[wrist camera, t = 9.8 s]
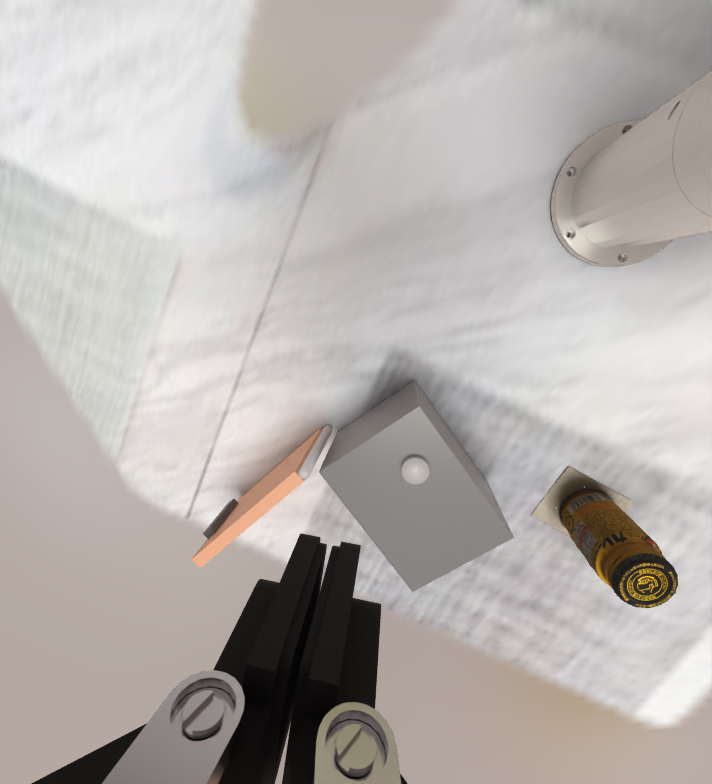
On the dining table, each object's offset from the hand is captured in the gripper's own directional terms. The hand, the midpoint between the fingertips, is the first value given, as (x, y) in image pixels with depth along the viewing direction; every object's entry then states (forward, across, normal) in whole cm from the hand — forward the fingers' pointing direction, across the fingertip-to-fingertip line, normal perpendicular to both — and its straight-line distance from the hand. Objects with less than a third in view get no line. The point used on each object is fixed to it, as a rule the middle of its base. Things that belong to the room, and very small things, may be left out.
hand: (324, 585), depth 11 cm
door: (+35, +10, +14) cm, 39 cm away
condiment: (+35, -26, +13) cm, 45 cm away
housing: (+35, -5, +10) cm, 37 cm away
